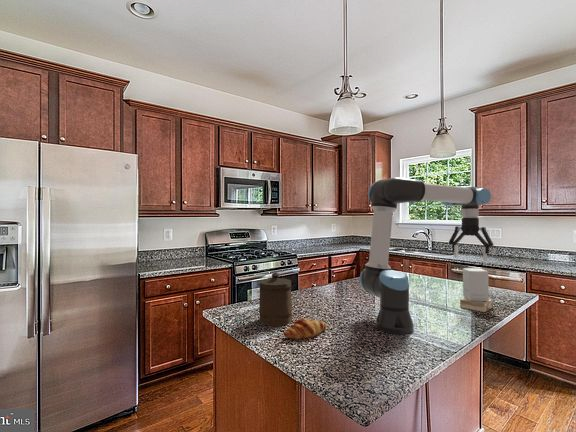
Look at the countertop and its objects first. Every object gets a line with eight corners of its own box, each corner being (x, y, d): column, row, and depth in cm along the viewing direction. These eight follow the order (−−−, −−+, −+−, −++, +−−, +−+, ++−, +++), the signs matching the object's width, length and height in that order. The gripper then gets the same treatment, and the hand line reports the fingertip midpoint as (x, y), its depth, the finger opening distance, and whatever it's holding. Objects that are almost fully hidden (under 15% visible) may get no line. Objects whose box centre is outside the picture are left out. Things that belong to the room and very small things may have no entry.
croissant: (322, 335, 135) (316, 316, 138) (336, 330, 128) (330, 310, 131) (280, 346, 123) (275, 325, 126) (293, 341, 116) (288, 319, 119)
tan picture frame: (484, 312, 152) (484, 303, 151) (460, 307, 160) (460, 298, 160) (492, 307, 159) (492, 299, 158) (468, 302, 167) (468, 294, 167)
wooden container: (285, 313, 153) (284, 269, 153) (296, 323, 139) (296, 274, 139) (255, 317, 148) (255, 271, 148) (265, 328, 134) (264, 277, 134)
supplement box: (489, 301, 154) (489, 271, 154) (469, 301, 156) (469, 271, 155) (481, 296, 163) (480, 268, 163) (462, 296, 164) (462, 267, 164)
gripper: (501, 217, 152) (501, 260, 153) (448, 217, 172) (448, 255, 172) (495, 217, 148) (495, 262, 148) (442, 217, 167) (442, 256, 167)
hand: (470, 258), depth 160 cm, fingers open, 13 cm apart
